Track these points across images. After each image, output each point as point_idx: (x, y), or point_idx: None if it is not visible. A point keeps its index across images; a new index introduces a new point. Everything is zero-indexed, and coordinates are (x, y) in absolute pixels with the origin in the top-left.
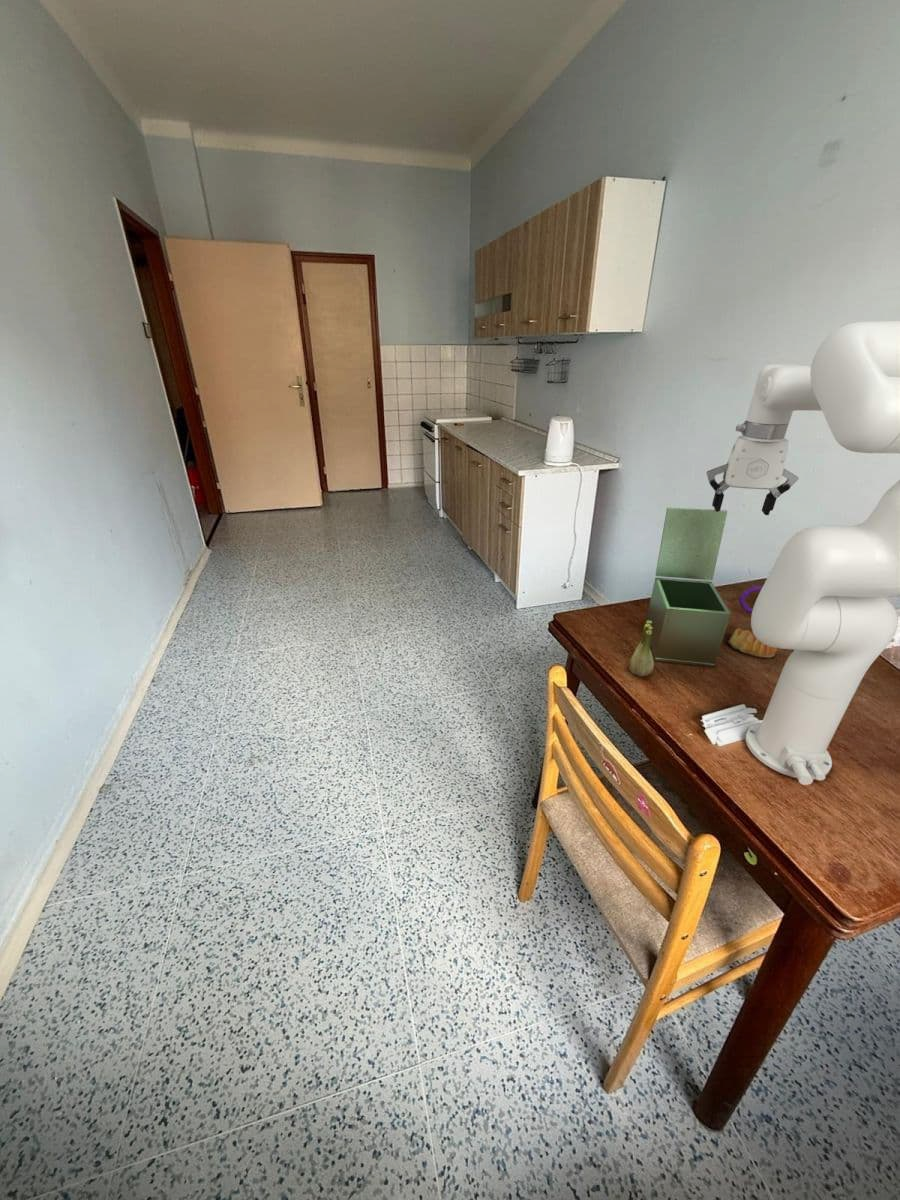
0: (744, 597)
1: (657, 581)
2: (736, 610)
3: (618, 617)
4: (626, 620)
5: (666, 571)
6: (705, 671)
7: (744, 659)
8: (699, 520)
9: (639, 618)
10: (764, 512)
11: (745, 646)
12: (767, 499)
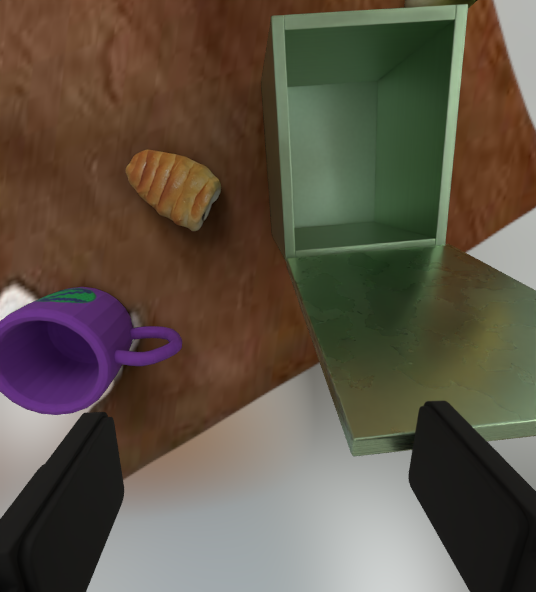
0: (172, 341)
1: (445, 217)
2: (182, 347)
3: None
4: None
5: (430, 251)
6: None
7: (194, 137)
8: (473, 369)
9: None
10: (111, 439)
11: (190, 161)
12: (64, 562)
